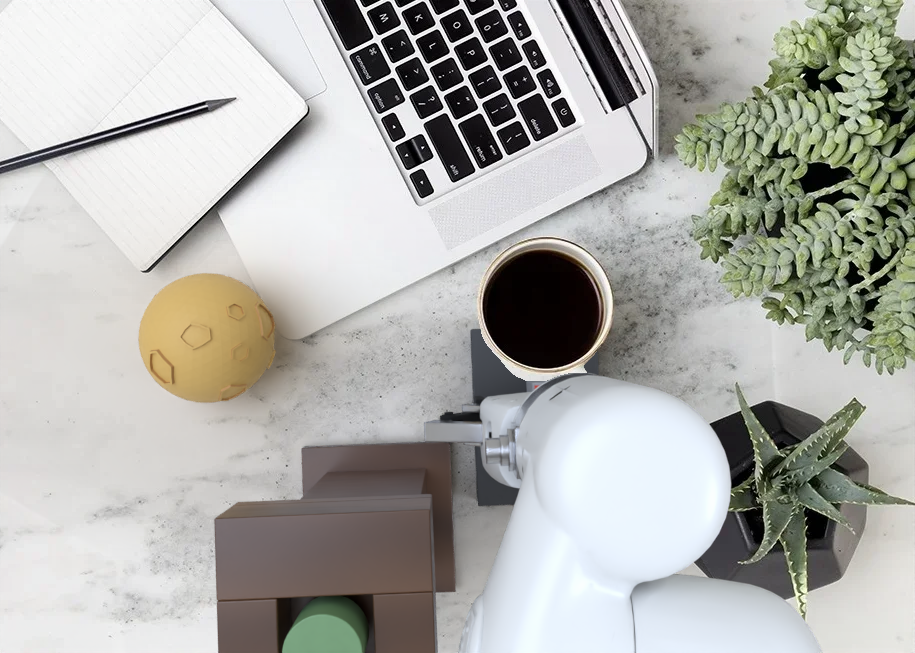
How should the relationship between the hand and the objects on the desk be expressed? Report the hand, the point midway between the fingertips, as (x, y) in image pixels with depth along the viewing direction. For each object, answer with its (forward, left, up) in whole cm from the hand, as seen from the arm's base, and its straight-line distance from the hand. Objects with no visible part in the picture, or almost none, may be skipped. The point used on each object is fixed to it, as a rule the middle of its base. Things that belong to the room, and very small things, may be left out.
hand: (544, 414), depth 58 cm
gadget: (0, 0, -7) cm, 7 cm away
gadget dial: (0, 0, -4) cm, 4 cm away
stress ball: (+7, +25, -7) cm, 27 cm away
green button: (-8, +13, +20) cm, 25 cm away
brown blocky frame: (-8, +13, +17) cm, 23 cm away
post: (-8, +13, -7) cm, 17 cm away
